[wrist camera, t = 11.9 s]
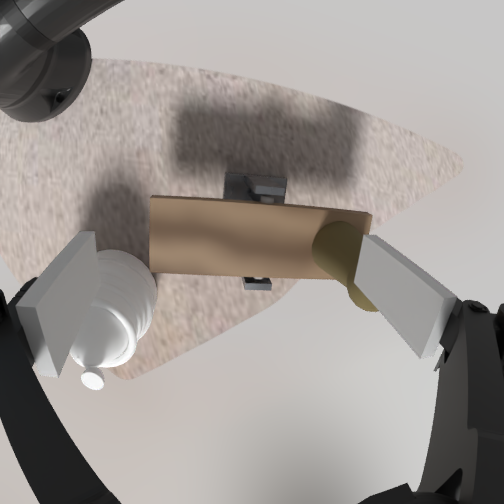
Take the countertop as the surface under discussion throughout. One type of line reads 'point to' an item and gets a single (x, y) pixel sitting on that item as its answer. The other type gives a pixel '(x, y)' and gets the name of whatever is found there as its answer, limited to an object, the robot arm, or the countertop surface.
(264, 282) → the seesaw stand
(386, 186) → the countertop surface
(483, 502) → the robot arm
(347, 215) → the seesaw plank
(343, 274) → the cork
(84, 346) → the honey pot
